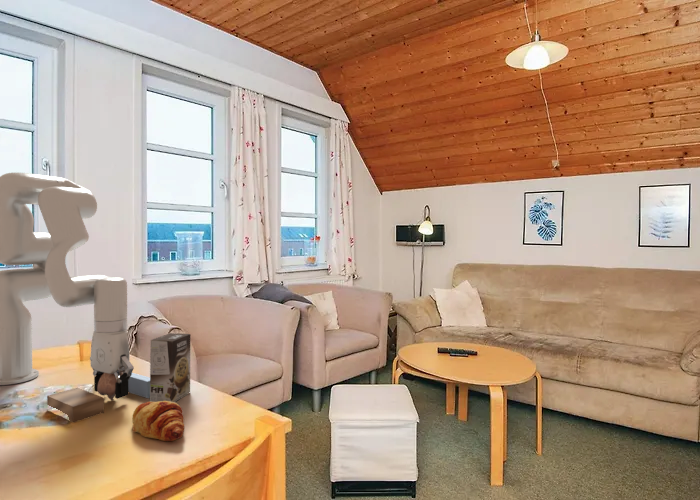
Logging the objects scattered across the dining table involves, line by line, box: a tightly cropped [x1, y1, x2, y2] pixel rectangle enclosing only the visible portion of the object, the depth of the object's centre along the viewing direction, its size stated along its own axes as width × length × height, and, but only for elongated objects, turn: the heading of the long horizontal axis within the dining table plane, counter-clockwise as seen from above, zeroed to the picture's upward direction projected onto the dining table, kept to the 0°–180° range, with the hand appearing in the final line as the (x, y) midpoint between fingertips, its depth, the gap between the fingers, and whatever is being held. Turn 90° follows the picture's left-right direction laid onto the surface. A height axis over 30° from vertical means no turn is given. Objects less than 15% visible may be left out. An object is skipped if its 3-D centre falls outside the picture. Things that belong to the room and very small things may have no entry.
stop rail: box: [128, 372, 150, 399], centre depth 124 cm, size 13×2×4 cm, turn 60°
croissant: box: [131, 401, 185, 442], centre depth 101 cm, size 21×10×8 cm, turn 46°
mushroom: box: [97, 369, 123, 401], centre depth 118 cm, size 8×6×8 cm
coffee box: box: [149, 332, 191, 403], centre depth 120 cm, size 9×6×16 cm
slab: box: [46, 387, 105, 424], centre depth 110 cm, size 12×7×4 cm, turn 57°
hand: (111, 393), depth 118 cm, fingers open, 8 cm apart
